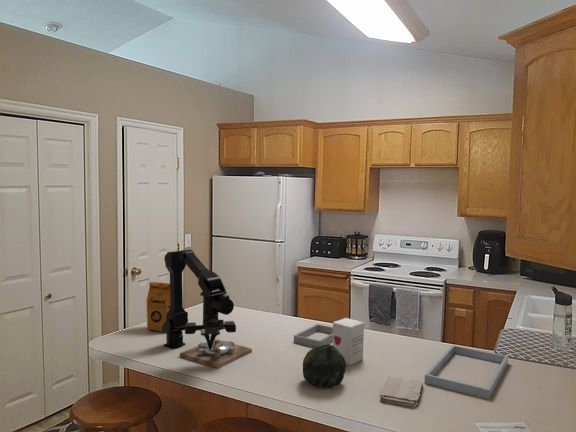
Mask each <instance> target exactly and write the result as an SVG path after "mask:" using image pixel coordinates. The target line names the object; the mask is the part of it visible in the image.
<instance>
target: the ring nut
mask: <svg viewBox="0 0 576 432" xmlns="http://www.w3.org/2000/svg"><path fill="white" fill-rule="evenodd" d="M234 344H235V342H233V341H232V340H228V341H226V340H221V341H220V339H219V338H215V340H214V342H213V345H212V348H211V350H209V347H208V344H207V341H206V342H199V343H198V344H197V346H198V354H199V355H201V356H203V355H207V356H214V358H219V357H220V356H222V355H226V354H233V353H234V352H235V347H234Z"/></svg>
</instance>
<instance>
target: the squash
mask: <svg viewBox="0 0 576 432" xmlns="http://www.w3.org/2000/svg"><path fill="white" fill-rule="evenodd" d="M332 345H333V344H331V343H329V344H327V345H322V346H319V347H316V348H315V347H312V348H311V349H310V350H308V352H306V354H305V357H304V358H303V361H302V375H303V378H304V380H305V381H306V382H307V383H309V384H313V385H314V386H318V385H319V387H325V388H327V389H332V388H334V387H337V386H339V385H340V384H341V383H342V382H343V380H344V378H345V377H344V376H345V374H346V372H347V364H346V361H345V359H344V357H343V356H342V354H341V353H340V352H339V351H338V350H337V349H336V348H335V347H334V346H332Z"/></svg>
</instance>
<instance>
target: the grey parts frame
mask: <svg viewBox="0 0 576 432" xmlns="http://www.w3.org/2000/svg"><path fill="white" fill-rule="evenodd" d="M317 332H319V333H325V334H328V335H327V336H325V337H323V338H322V339H315V338H310V337H309V336H311V335H314V334H315V333H317ZM293 343H295V344H300V345H303V346H308V347H312V348H316V347H319V346H322V345H328V344H331V343H333V326H329V325H324V324H319V323H316V324H314V325H312V326H310V327H308V328H306V329H304V330H302V331H301V332H299V333H296V334H295V335H293Z"/></svg>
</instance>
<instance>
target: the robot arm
mask: <svg viewBox="0 0 576 432" xmlns="http://www.w3.org/2000/svg"><path fill="white" fill-rule="evenodd" d="M164 265H165V268H166V269H167V271H168V273H169V284H170V309H169V311H168V313H167V317H166V321H165V323H164V324H163V326H162V331H163V332H162V333H165V334H166V339H165V340H166V343H164V344H163V347H167V348H170V349H174V350H175V349H178V348H181V347H182V346H185V345H186V343H185V342H184V335H183V331H184V334H185V335H195V333H197V331H200V335H201V336H203V337H204V338H205V341H206V342H207V344H208V347H209V350H211V348H212V345H213V342H214V340H215V339H217V336H219V335H220V334H221V333H220V331H222V330H225V331H226V332H227V333H229V334H230V333H235V332H237V325H236V322H235V321H234V320H227V321H225V320H224V319H219V313H220V314H222V315H225V316H228V315H230V314H231V313H232V312H233V311H234V308H235V304H234V302H233V300H232V299H231V298H230V295H228V294H227V291H226V287H225V285H224V283H223V281H222V278H221V277H220V276H219V274H217V273H216V272H215V271H211V270H209V269H208V268H207V267H206V266H205V264H204V263H203V262H202V261H201V260H200V258H198V257H197V255H196V254H195V251H194V250H193V249H191V248H190V249H181V250H175V251H174V250H173V251H167V252H166V254H164ZM186 266H187V267H188V268H189V270H190V271H191V272H192V273H193V274H194V275H195V277H196V278H197V285H198V286H199V288H200V290H201V291H202V292H200V293H199V295H200V296H201V297H203V299H202V324H197V323H196V321H195V322H189V318H188V317H189V313H188V311H186V310H185V309H184V307H183V306H184V305H183V304H184V302H183V300H184V299H183V295H184V293H183V272H184V270H185V268H186Z"/></svg>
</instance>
